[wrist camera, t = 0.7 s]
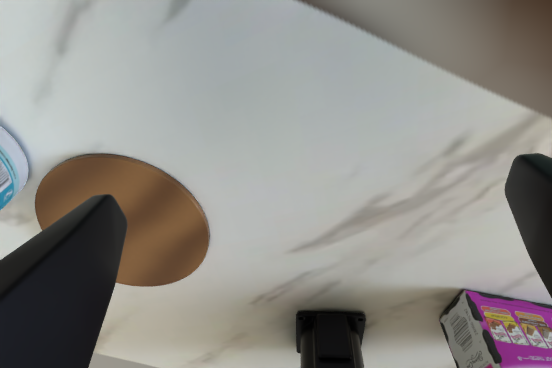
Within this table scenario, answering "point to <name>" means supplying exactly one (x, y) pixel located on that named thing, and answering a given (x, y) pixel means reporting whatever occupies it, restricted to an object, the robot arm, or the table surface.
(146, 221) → the disc
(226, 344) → the table surface
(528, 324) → the candy bar box
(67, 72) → the table surface
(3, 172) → the pill bottle
